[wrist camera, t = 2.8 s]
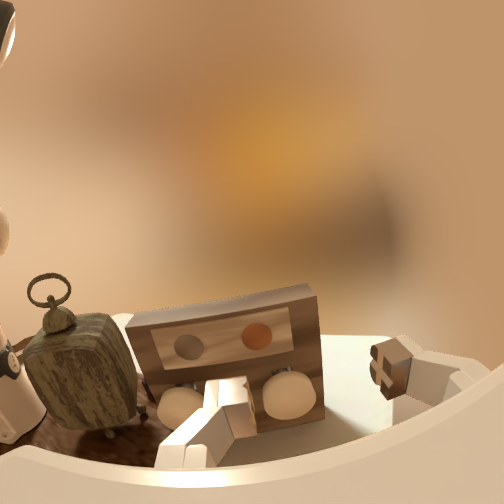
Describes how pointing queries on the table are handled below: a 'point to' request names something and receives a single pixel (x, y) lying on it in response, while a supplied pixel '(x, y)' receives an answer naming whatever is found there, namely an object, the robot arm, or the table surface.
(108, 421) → the tabletop clock
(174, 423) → the button
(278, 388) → the button
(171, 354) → the button panel
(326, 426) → the table surface
